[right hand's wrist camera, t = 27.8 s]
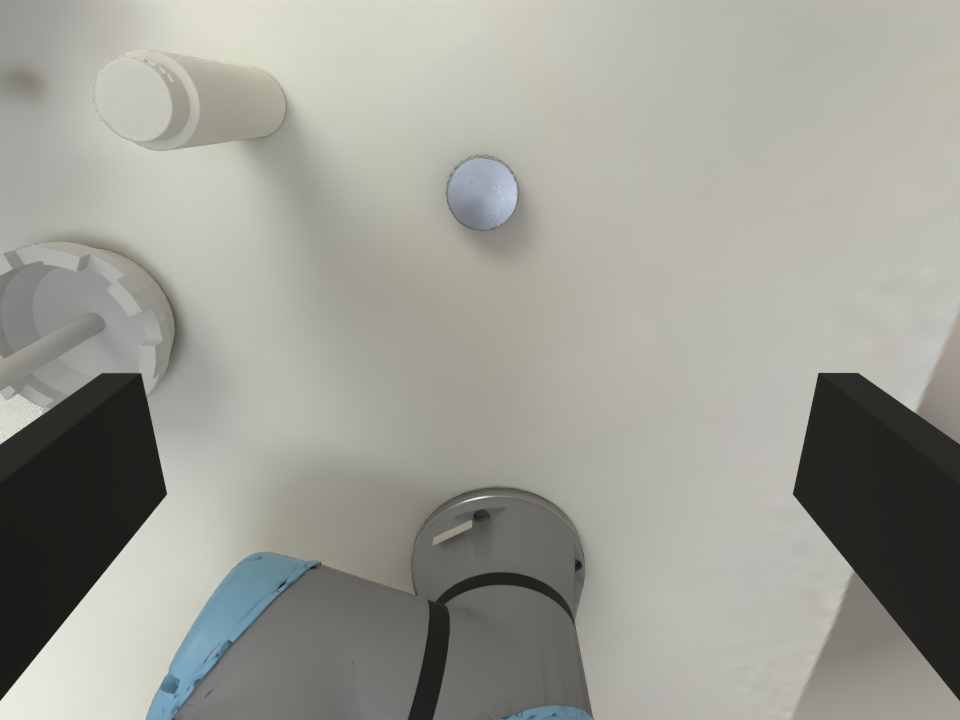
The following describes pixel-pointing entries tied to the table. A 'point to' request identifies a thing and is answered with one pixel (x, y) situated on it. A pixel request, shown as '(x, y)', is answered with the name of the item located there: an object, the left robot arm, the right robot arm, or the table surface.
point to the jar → (186, 100)
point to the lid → (482, 193)
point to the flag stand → (78, 321)
